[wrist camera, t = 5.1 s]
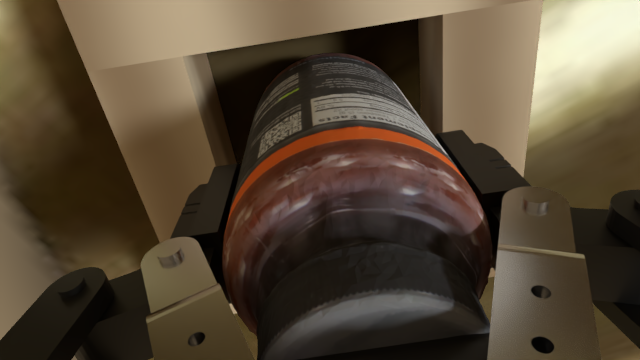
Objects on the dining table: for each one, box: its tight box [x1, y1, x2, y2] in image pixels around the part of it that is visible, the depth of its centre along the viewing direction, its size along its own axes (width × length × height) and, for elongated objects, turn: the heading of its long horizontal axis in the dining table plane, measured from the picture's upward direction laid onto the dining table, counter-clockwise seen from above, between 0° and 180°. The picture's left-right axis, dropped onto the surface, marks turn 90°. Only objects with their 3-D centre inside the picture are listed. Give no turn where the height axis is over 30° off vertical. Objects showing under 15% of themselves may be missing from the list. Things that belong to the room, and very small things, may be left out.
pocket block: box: [57, 0, 543, 314], centre depth 16 cm, size 14×14×3 cm
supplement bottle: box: [222, 53, 493, 360], centre depth 11 cm, size 6×6×11 cm
